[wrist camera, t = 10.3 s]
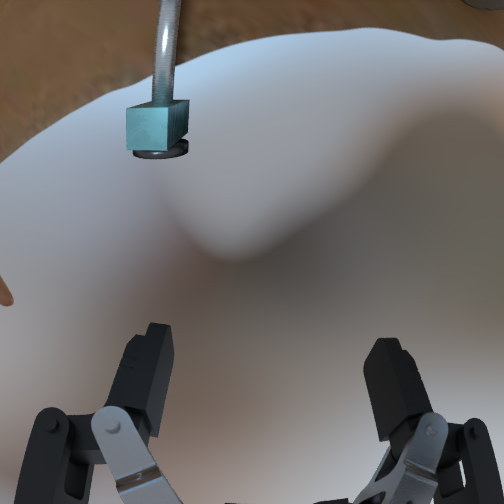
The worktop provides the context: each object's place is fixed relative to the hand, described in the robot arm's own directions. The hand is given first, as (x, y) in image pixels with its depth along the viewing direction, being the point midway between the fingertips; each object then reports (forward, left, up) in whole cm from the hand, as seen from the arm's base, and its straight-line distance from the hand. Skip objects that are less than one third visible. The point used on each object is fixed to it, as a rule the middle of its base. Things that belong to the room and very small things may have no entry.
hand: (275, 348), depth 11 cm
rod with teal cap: (+11, -11, -28) cm, 32 cm away
